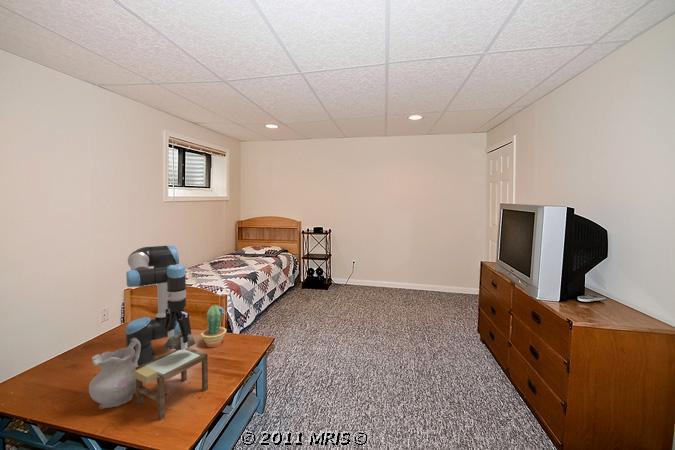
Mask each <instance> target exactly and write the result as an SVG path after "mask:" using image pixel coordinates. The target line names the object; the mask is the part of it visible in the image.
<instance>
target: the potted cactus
mask: <svg viewBox="0 0 675 450" xmlns="http://www.w3.org/2000/svg"><path fill="white" fill-rule="evenodd" d="M225 315H226V310H225V309H224V308H223V306H219V305H217V304H214V305H211V306H210V308H208V310H207V312H206V320H207V324H208V327H207V328H206V329H204V330H202V331H201V333H200V337H201V338H202V339H203V341H204V342H205V344H206V345H205V346H206V347H208V348H216V347H219V346H220V345H222V341H223V340H224V338H225V335H226V334H227V328H225V327H223V326H220V325H221V321H222V319H223V316H225Z"/></svg>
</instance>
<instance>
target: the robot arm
mask: <svg viewBox="0 0 675 450" xmlns="http://www.w3.org/2000/svg"><path fill="white" fill-rule="evenodd" d="M178 251H179V250H178V248H177V247H176V246H175V245H158V246H157V245H156V246H144V247H141V248H137V249H135V250H134V251H133V252H131V253H130V254H129V256H128V258H127V264H128V266H129V267H130V270H128V271H126V273H125V275H126V287H128V288H134V287H135V288H137V287H143V286H145V287H146V286H151V285H156V288H157V289H156V291H157V313H155V315H154V318H153V319H152V318H151V317H149V316H147V317H146V316H145V317H144V316H143V317H139V318H136V319H134V320H132V321H129V323H128V324H127V325H126V326H125V336H126V337H125V338H126V339H125V341H126V344H125V345H126V347H125V348H127V347H128V346H129V344H130V339H132V338H134V337H135V338H137V339H138V340H139V341H140V343H141V350H140V356H139V359H138V362H137V364H138V366H140V365H142V364H145V363H147V362H149V361H151V360H153V359H156V351H155V350H154V348H153V346H152V341H154V340H156V341H157V340H160V339H164V338H167V340H168V339H169V338H171V337H172V336H175V335H176V334H177V333H178V332H181V334H182V336H181V350H184V349H187V348H188V346H187V342H188V335H189V334H191V333H192V330H191V323H190V312H185V307H186V306H187V298H186V297H187V287H186V286H187V285H186V284H187V283H186V280H187V279H186V278H187V271H186V270H187V269H186V266H185V265H184V264H180V255H179V252H178ZM150 267H151V268H150ZM152 267H153V268H152ZM133 349H134V350H135V353H136V347H135V346H134V348H133ZM134 356H135V354H134ZM133 361H134V357H133V360H132V362H133Z"/></svg>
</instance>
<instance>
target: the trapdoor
mask: <svg viewBox="0 0 675 450" xmlns="http://www.w3.org/2000/svg"><path fill="white" fill-rule="evenodd" d="M199 356H201V355H198V354H196V353H193V352H190V351H188V350H185V349H184V350H178V351H176V352H174V353H172V354H170V355H167V356H165V357H163V358H161V359H159V360H156V361H154V362H152V363H150V364H148V365H146V366H143V367H142V368H140V369H138V370H136V371H135V378H136V379H138V380H140V381H142V382H143V383H144V384H146V385H148V384H150V383H152V382H154V381H157V378H158V377H160V376H162V375H164V374H166V373H168V372H170V371H172V370H174V369H175V368H177V367H179V366H181V365H183V364H185V363H187V362H189V361H191V360H193V359H195V358H197V357H199Z"/></svg>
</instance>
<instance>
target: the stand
mask: <svg viewBox="0 0 675 450" xmlns="http://www.w3.org/2000/svg"><path fill="white" fill-rule="evenodd" d="M185 350H188V351H190V352H193V353H196V354H198V355H201V356H199V357H197V358H195V359H193V360H191V361H189V362H187V363H185V364H183V365H181V366H179V367H177V368H175V369H174V370H172V371H170V372H168V373H166V374H164V375H162V376H158V378H157V379H156V389H157V391H154V390H152V389H151V388H149V387H147V386H145V385H143V383H144V382H142V381H140V380H138V379H136V391H135V395H136V396H135V398H136V400H135V401H136V407H138V408H140V407H142V406H143V405H144V396H147V397H148V398H149V399H152V400H153V401H156V402H157V419H158V420H160V421H161V420H163V419H164V418H165V417H166V411H165V410H166V408H165V407H166V406H165V405H166V400H165V399H166V398H165V382H166V381H168V380H170V379H172V378H173V377H176V376H178V375H179V374H180V376H181V377H180V379H181V380H180V381H181V382H185V381H187V380H188V378H187V377H188V373H187V372H188V369H191V368H192V367H194V366H196V365H198V364H200V363H201V391H202V392H206V391H208V389H209V381H208V380H209V379H208V378H209V368H208V367H209V366H208V365H209V363H208V360H209V359H208V353H205V352H202V351H200V350H196V349H194V348H191V347H188V348H187V349H185ZM176 351H178V350H177V349H172V350H171V351H168V352H167V353H165V354H162V355H161V356H158V357H155V359H153V360H151V361H149V362H147V363H145V364H142V365H140V366H138V367H136V370H138V369H140V368H142V367H143V366H146V365H148V364H150V363H152V362H154V361H156V360H159V359H161V358H163V357H165V356H167V355H170V354H172V353H174V352H176Z"/></svg>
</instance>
